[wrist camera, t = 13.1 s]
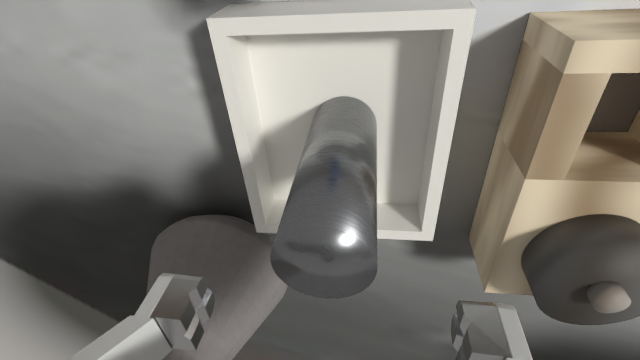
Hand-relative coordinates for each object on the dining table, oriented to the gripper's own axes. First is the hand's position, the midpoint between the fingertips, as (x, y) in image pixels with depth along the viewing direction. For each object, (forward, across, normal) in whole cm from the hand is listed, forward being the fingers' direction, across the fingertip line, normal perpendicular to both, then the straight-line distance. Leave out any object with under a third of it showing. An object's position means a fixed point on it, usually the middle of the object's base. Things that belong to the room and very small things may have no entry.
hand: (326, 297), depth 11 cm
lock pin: (+13, 0, +1) cm, 13 cm away
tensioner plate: (+14, -13, +2) cm, 19 cm away
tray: (+14, +1, 0) cm, 14 cm away
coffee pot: (+13, +13, +18) cm, 26 cm away
